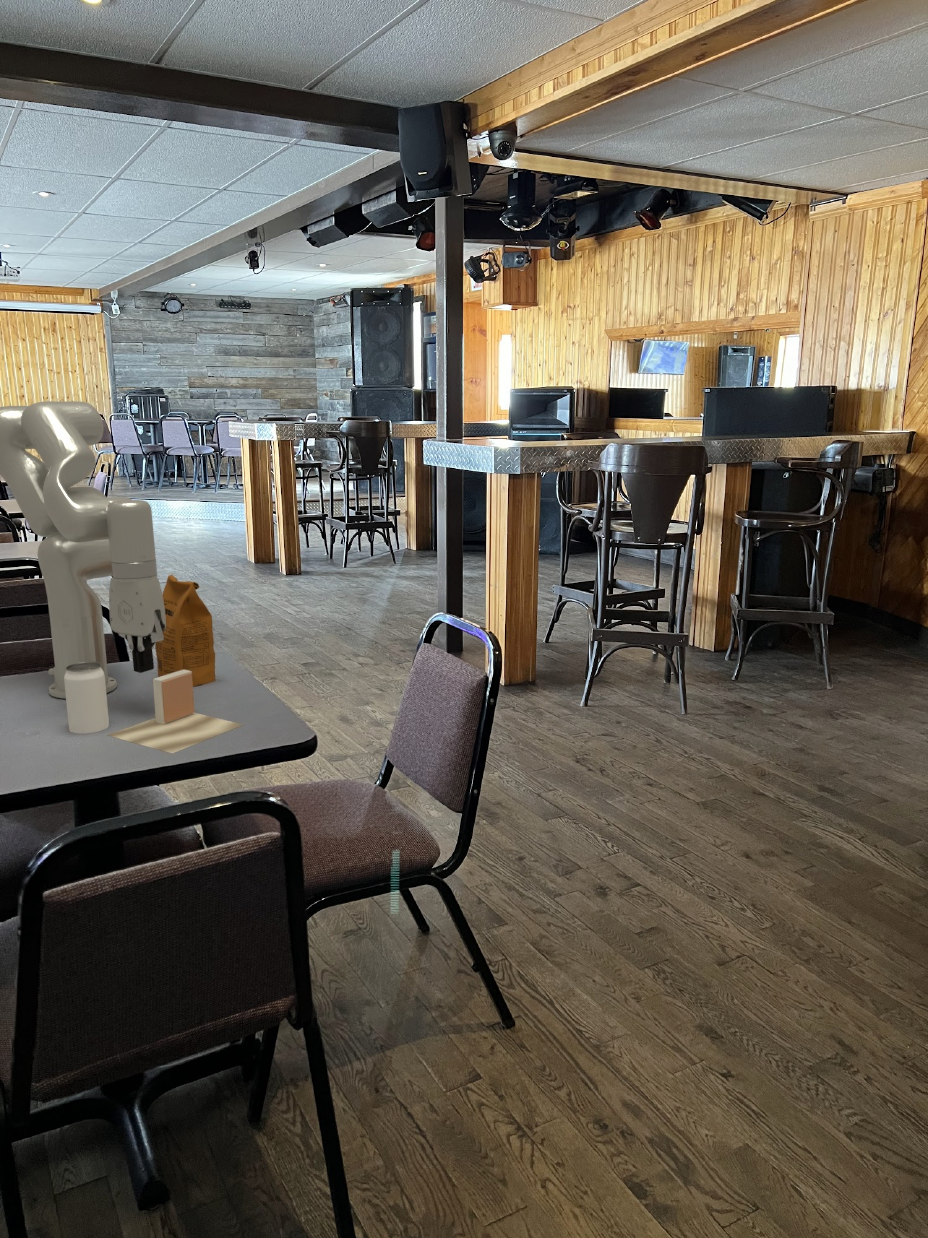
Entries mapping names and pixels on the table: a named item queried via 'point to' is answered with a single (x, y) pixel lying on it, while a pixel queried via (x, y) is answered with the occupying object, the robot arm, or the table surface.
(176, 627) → the coffee package
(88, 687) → the can
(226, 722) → the cloth
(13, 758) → the table surface
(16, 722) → the table surface
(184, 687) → the tile
